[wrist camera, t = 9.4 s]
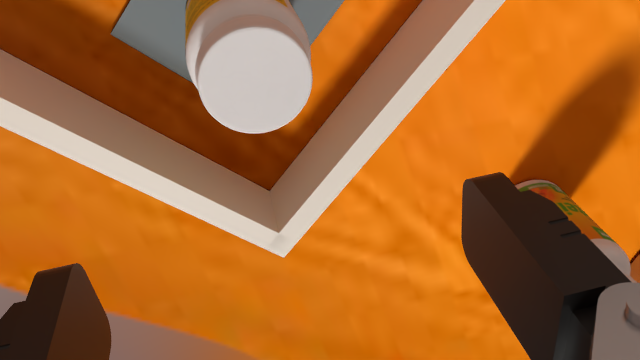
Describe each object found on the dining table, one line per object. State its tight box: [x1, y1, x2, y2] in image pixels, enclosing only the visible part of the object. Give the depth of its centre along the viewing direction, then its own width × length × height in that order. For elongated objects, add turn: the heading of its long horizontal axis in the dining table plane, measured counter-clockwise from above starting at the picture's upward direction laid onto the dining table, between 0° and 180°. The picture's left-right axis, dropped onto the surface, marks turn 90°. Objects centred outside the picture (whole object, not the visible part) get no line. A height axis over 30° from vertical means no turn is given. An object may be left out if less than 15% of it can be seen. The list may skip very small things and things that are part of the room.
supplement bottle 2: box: [515, 180, 637, 283], centre depth 33 cm, size 5×5×10 cm
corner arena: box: [0, 0, 505, 258], centre depth 24 cm, size 17×17×4 cm
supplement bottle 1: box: [185, 0, 312, 133], centre depth 22 cm, size 5×5×8 cm
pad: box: [111, 0, 344, 83], centre depth 26 cm, size 8×8×1 cm
